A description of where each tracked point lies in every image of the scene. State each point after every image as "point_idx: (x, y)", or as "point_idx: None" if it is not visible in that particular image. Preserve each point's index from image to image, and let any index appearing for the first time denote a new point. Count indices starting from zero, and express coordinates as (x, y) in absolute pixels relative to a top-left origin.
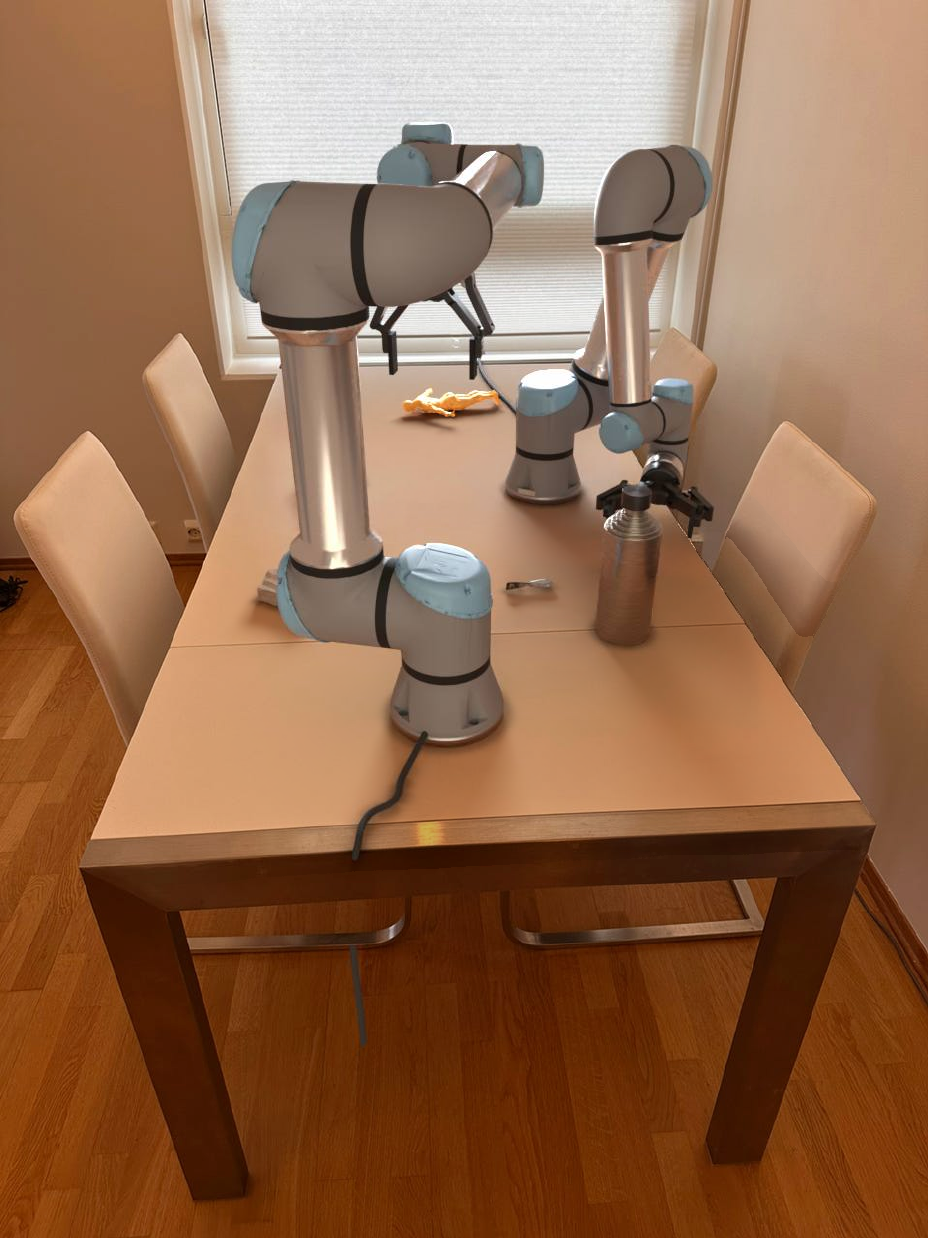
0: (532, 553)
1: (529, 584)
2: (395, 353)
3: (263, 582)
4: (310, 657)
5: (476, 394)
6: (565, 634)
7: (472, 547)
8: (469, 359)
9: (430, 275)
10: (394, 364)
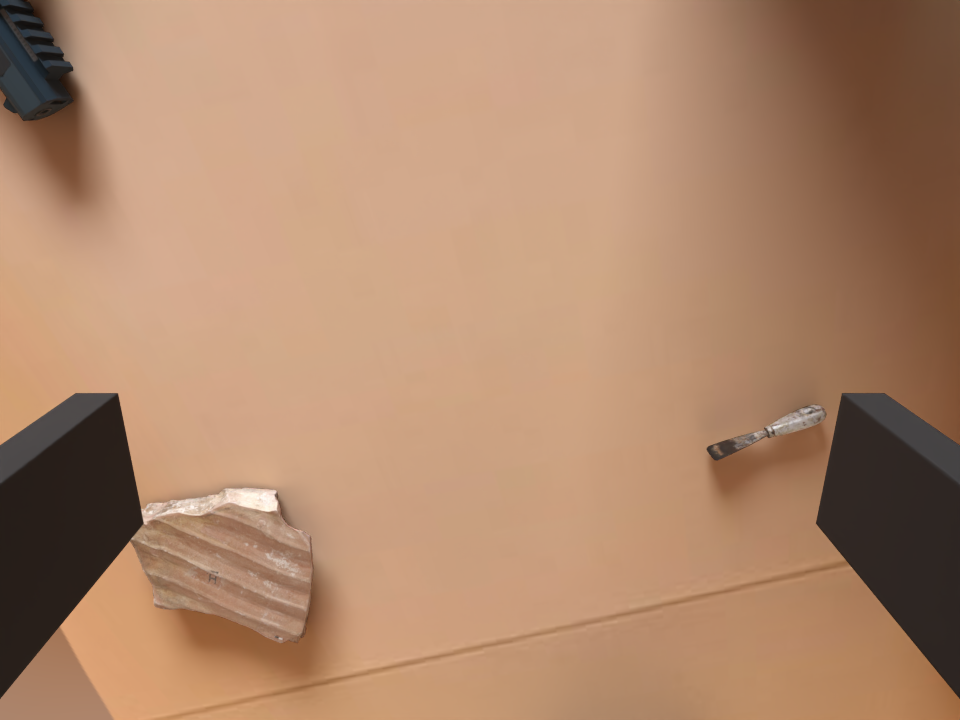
0: (768, 237)
1: (766, 431)
2: (20, 547)
3: (150, 579)
4: (363, 716)
5: None
6: (837, 576)
7: (591, 235)
8: (923, 651)
9: None
10: (93, 535)
